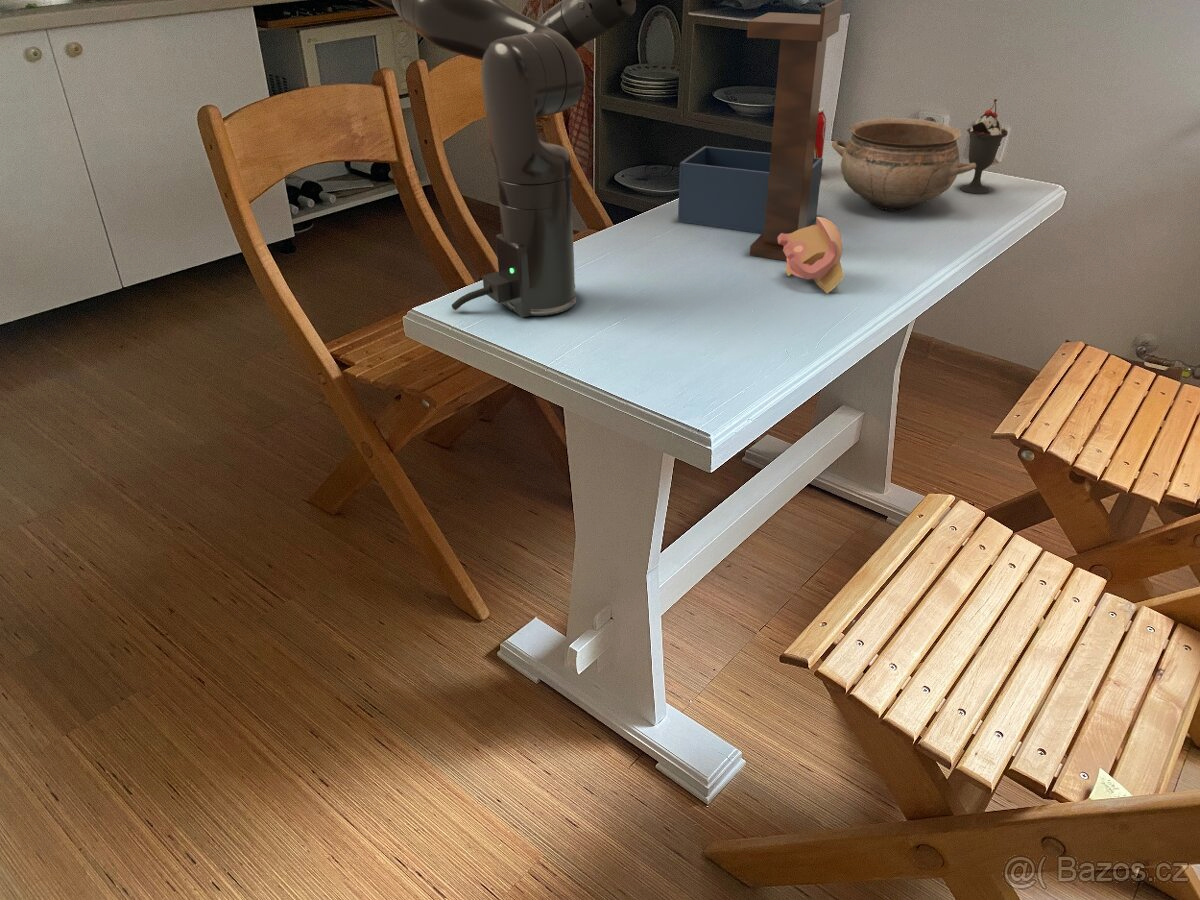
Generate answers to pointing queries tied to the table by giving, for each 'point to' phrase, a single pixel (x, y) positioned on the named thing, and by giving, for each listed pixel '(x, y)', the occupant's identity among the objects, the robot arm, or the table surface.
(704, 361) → the table surface
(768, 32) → the dark wooden post
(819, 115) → the soda can
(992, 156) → the sundae
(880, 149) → the cooking pot
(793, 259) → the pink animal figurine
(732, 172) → the blue open box
